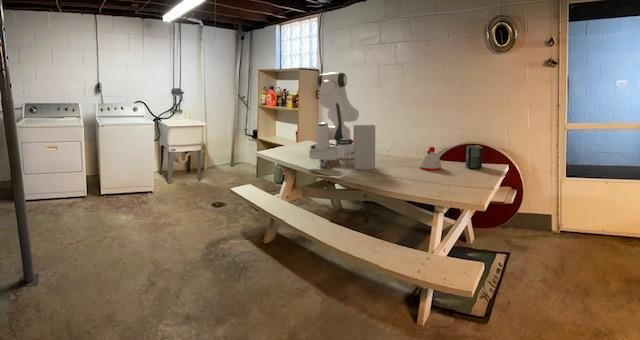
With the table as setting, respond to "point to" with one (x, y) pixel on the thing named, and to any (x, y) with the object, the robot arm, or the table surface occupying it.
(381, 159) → the table surface
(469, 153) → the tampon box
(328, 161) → the bookend
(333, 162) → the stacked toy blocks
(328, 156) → the robot arm
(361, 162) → the tall grey box
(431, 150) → the grey and red dome
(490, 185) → the table surface
